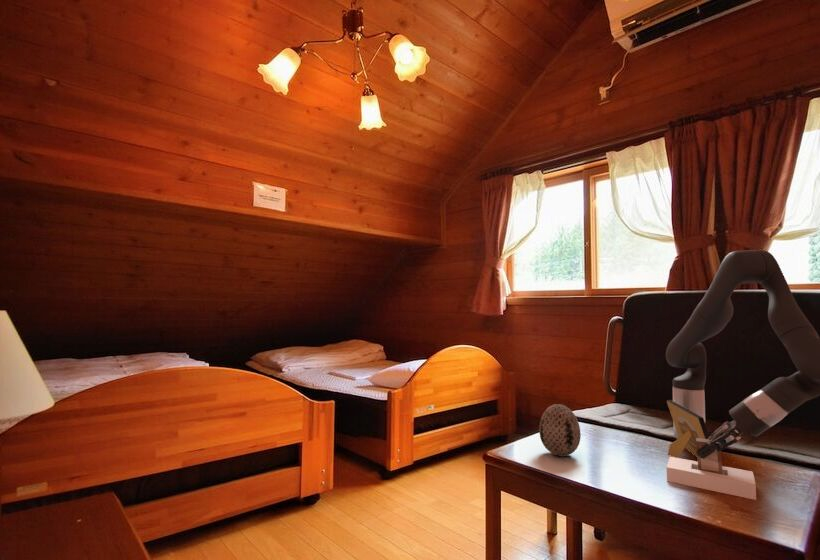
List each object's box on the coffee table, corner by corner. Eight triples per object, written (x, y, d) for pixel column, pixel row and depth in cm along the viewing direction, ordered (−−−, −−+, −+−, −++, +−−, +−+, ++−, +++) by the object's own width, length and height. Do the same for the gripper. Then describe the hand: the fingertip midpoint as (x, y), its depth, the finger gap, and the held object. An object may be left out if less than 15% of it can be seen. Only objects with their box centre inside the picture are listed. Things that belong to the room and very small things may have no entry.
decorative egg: (552, 463, 123) (552, 409, 124) (532, 449, 134) (532, 400, 135) (589, 460, 125) (588, 408, 126) (566, 447, 137) (566, 399, 138)
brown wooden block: (698, 469, 113) (696, 438, 114) (722, 473, 110) (719, 440, 111) (698, 473, 111) (696, 441, 111) (722, 476, 108) (719, 443, 108)
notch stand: (670, 469, 120) (669, 456, 120) (753, 485, 109) (752, 471, 109) (666, 481, 111) (666, 467, 112) (756, 499, 101) (755, 484, 101)
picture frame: (722, 473, 117) (713, 417, 118) (685, 474, 119) (677, 418, 120) (686, 446, 140) (679, 399, 141) (656, 447, 141) (649, 401, 143)
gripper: (742, 395, 113) (688, 434, 119) (745, 405, 102) (685, 447, 108) (769, 419, 110) (712, 458, 116) (775, 432, 98) (711, 474, 104)
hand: (699, 453), depth 112 cm, fingers closed on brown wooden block, 3 cm apart
